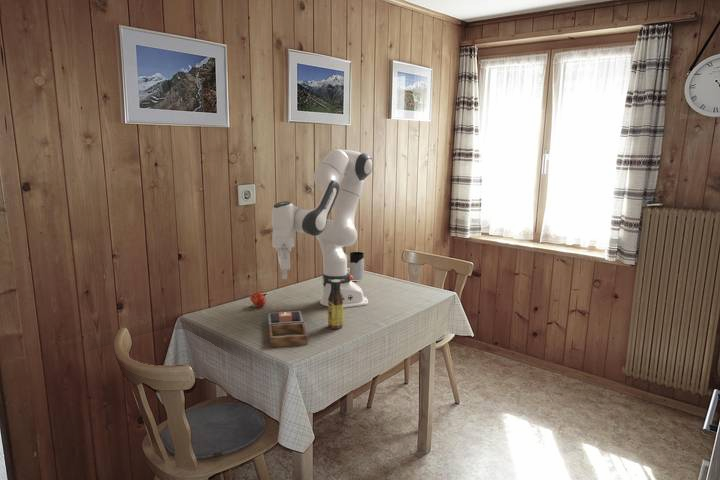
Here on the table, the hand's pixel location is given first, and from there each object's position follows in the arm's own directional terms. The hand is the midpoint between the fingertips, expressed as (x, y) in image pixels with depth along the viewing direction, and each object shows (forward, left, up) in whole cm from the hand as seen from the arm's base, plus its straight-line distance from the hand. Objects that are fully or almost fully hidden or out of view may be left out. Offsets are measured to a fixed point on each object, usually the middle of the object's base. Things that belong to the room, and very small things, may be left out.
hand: (284, 275), depth 205 cm
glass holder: (-41, -66, -21) cm, 81 cm away
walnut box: (0, +15, -21) cm, 26 cm away
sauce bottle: (-20, +6, -21) cm, 30 cm away
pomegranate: (+11, -26, -21) cm, 35 cm away
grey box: (0, 0, -21) cm, 21 cm away
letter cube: (0, 0, -21) cm, 21 cm away
